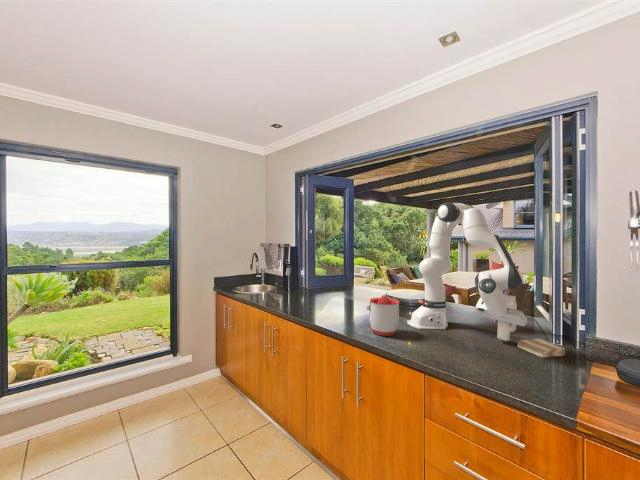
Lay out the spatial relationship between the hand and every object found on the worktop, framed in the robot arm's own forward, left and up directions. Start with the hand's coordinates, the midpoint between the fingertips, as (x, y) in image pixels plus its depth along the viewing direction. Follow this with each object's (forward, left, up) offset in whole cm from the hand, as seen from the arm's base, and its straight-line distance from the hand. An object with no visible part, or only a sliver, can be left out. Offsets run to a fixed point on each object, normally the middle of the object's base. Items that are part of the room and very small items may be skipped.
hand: (504, 323), depth 140 cm
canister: (-1, 0, -7) cm, 7 cm away
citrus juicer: (-52, +24, -9) cm, 58 cm away
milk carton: (+18, +16, -9) cm, 26 cm away
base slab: (+8, -12, -9) cm, 17 cm away
